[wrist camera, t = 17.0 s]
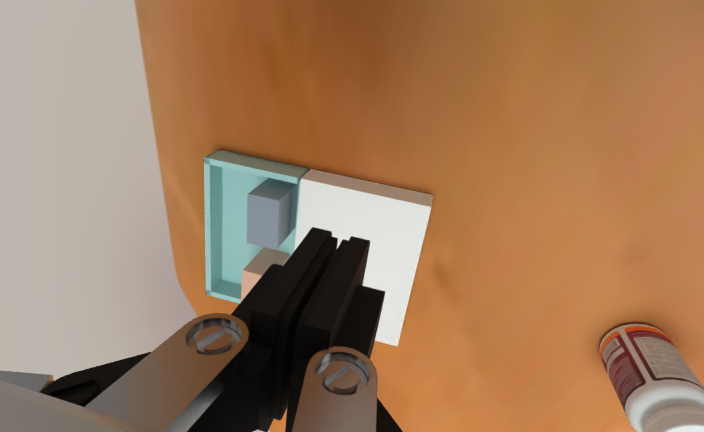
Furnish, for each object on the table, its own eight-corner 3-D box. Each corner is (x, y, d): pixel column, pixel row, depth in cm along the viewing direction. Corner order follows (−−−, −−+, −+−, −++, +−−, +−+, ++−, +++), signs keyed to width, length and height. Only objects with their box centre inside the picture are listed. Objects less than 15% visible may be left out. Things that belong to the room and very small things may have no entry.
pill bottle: (613, 378, 42) (662, 488, 32) (586, 333, 41) (629, 432, 30) (680, 360, 39) (758, 472, 29) (655, 311, 38) (726, 411, 28)
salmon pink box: (271, 278, 40) (242, 270, 40) (267, 318, 42) (240, 310, 42) (290, 253, 44) (264, 246, 44) (285, 291, 46) (260, 284, 47)
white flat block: (433, 195, 38) (431, 207, 36) (400, 328, 45) (397, 346, 43) (311, 169, 40) (300, 178, 38) (297, 300, 47) (288, 316, 44)
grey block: (279, 200, 36) (247, 193, 36) (276, 250, 38) (246, 243, 39) (298, 182, 40) (270, 176, 41) (295, 227, 43) (268, 221, 43)
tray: (308, 168, 40) (297, 177, 38) (295, 300, 47) (285, 316, 44) (220, 149, 42) (203, 157, 39) (219, 280, 49) (206, 294, 46)
